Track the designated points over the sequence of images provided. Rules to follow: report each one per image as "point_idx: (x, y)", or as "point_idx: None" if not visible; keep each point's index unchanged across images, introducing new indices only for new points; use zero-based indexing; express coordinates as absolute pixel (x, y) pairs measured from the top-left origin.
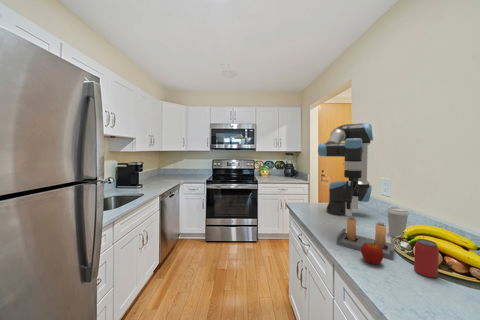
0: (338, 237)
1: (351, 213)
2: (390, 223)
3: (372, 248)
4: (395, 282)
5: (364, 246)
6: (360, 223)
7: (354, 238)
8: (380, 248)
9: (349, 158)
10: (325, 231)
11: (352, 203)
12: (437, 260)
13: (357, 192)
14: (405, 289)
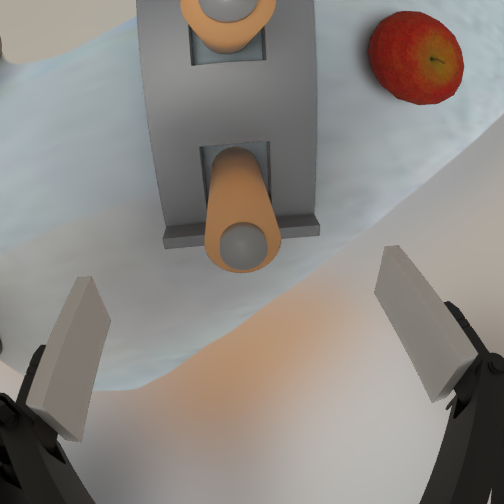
0: (318, 226)
1: (412, 264)
2: None
3: (460, 60)
4: (466, 4)
5: (452, 93)
6: None
7: (248, 159)
8: (434, 23)
9: None
10: (188, 300)
11: (97, 359)
12: None
13: (39, 479)
14: None
